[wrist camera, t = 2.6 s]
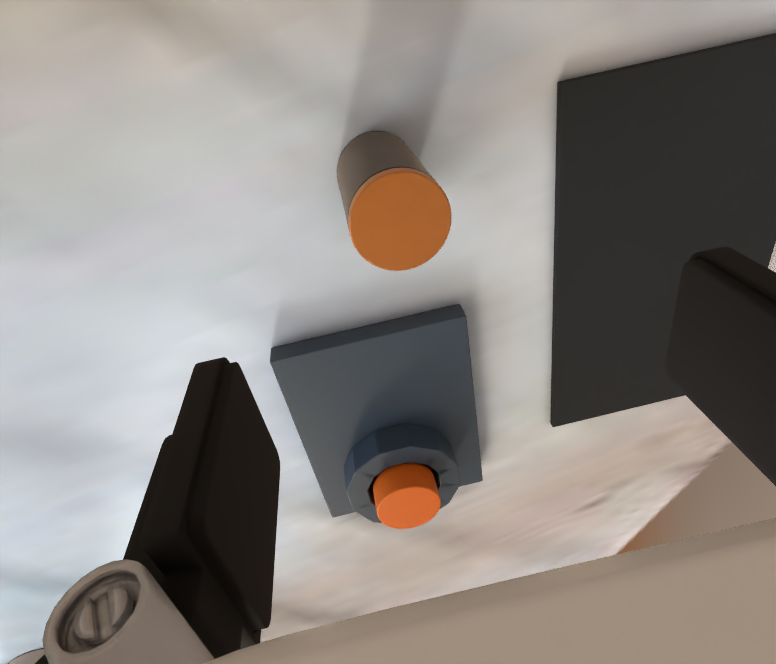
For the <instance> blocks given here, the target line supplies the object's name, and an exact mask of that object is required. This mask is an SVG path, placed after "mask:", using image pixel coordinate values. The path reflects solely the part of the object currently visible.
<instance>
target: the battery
mask: <svg viewBox="0 0 776 664" xmlns="http://www.w3.org/2000/svg"><path fill="white" fill-rule="evenodd" d="M337 179H338V184H339V189H340V193H341V197H342V202H343V206H344V210H345V215H346V219H347V223H348V228H349V232H350V236H351V239H352V242H353V244H354V246H355V248H356V250H357V251H358V252H359V254H360V255H361V256H362V257H363V258H364V259H365V260H367V261H368V262H369V263H371V264H373V265H375V266H377V267H379V268H382V269H387V270H395V271H399V270H407V269H411V268H415V267H417V266H419V265H422V264H423V263H425V262H427V261H428V260H429V259H431V258H432V257H433V256H434V255H435V254H436V253H437V252H438V251H439V250H440V249H441V247H442V246H443V244H444V242H445V240H446V239H447V236H448V233H449V230H450V226H451V209H450V204H449V201H448V199H447V196H446V194H445V193H444V191H443V190H442V188H441V187H440V186H439V185H438V183H437V182H436V181H435V180H434V178H433V177H432V176H431V175H430V173H429V172H428V171H427V170H426V168H425V167H424V166H423V165H422V163H421V162H420V161H419V160H418V158H417V157H416V156H415V155H414V153H413V152H412V151H411V150H410V148H409V147H408V146H407V145H406V143H405V142H404V141H403V140H401V139H400V138H399V137H397V136H396V135H393V134H391V133H388V132H384V131H371V132H366V133H363V134H361V135H359V136H357V137H356V138H354V139H353V140H352V141H350V142H349V143H348V145H347V146H346V147H345V148H344V150H343V151H342V153H341V155H340V158H339V161H338V165H337Z"/></svg>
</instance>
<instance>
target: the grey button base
mask: <svg viewBox="0 0 776 664" xmlns="http://www.w3.org/2000/svg"><path fill="white" fill-rule="evenodd" d="M270 363H271V366H272V368H273V371H274V373H275V376H276V378H277V381H278V383H279V386H280V388H281V391H282V393H283V396H284V398H285V401H286V403H287V406H288V408H289V411H290V413H291V416H292V418H293V421H294V423H295V426H296V428H297V430H298V433H299V435H300V438H301V440H302V443H303V445H304V448H305V450H306V453H307V455H308V458H309V460H310V463H311V465H312V468H313V470H314V473H315V475H316V478H317V480H318V483H319V485H320V488H321V490H322V493H323V495H324V498H325V500H326V503H327V505H328V508H329V510H330V513H331V515H332V517H337V516H341V515H345V514H349V513H353V512H357V513H359V514H360V515H362V516H364V517H365V518H367V519H369V520H370V521H373V522H378V523H382V522H381V521H380V520H379V518H378V516H377V512H376V505H375V499H374V492H373V484H374V481H375V479H376V478H377V476H378V475H379V474H380V473H381V472H382V471H384V470H385V469H387V468H389V467H391V466H394V465H399V464H403V463H407V462H412V463H419V464H422V465H424V466H426V467H427V468H429V469H430V470H431V472H432V473H433V475H434V479H435V482H436V486H437V489H438V492H439V496H440V499H441V505H440V509H441V508H442V507H444V506H445V505H447V504H448V503H449V502H450V500H451V499H452V497H453V495H454V494H455V492H456V491H457V489H458V487H459V486H463V485H468V484H472V483H476V482H480V481H482V480H483V478H482V469H481V459H480V449H479V439H478V429H477V419H476V409H475V399H474V389H473V379H472V369H471V359H470V349H469V339H468V329H467V319H466V315H465V313H464V311H463V309H462V307H461V306H460V304H458V305H454V306H450V307H445V308H441V309H437V310H432V311H428V312H424V313H420V314H415V315H411V316H407V317H403V318H398V319H394V320H390V321H385V322H381V323H377V324H373V325H368V326H364V327H360V328H356V329H351V330H347V331H343V332H338V333H334V334H330V335H326V336H321V337H317V338H313V339H309V340H304V341H300V342H296V343H291V344H287V345H283V346H279V347H274V348H271V356H270Z"/></svg>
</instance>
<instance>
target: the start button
mask: <svg viewBox="0 0 776 664" xmlns="http://www.w3.org/2000/svg"><path fill="white" fill-rule="evenodd" d="M373 492H374V499H375V505H376V512H377V516H378V518H379V520H380V521H381V522H382V523H383V524H385V525H387V526H389V527H392V528H398V529H406V528H413V527H416V526H419V525H422V524H424V523H426V522H428V521H429V520H431V519H432V518H433V517H434V516H435V515H436V514H437V512H438V511H439V509H440V505H441V499H440V496H439V492H438V489H437V486H436V482H435V479H434V475H433V473H432V472H431V470H430V469H429V468H427V467H426V466H424V465H422V464H419V463H412V462H407V463H403V464H399V465H394V466H391V467H389V468H387V469H385V470H384V471H382V472H381V473H380V474H379V475H378V476H377V478H376V479H375V481H374V484H373Z"/></svg>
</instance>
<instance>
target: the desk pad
mask: <svg viewBox="0 0 776 664" xmlns="http://www.w3.org/2000/svg"><path fill="white" fill-rule="evenodd" d="M775 242H776V33H775V34H770V35H766V36H761V37H757V38H752V39H748V40H743V41H739V42H734V43H730V44H725V45H721V46H716V47H712V48H707V49H703V50H698V51H694V52H689V53H685V54H680V55H676V56H671V57H667V58H662V59H658V60H653V61H649V62H644V63H640V64H635V65H631V66H626V67H622V68H617V69H613V70H608V71H604V72H599V73H595V74H590V75H586V76H581V77H577V78H572V79H568V80H563V81H559V82H558V84H557V133H556V181H555V230H554V278H553V326H552V375H551V425H552V426H553V427H556V426H560V425H564V424H568V423H572V422H577V421H581V420H585V419H589V418H593V417H597V416H601V415H605V414H609V413H614V412H618V411H622V410H626V409H630V408H634V407H638V406H642V405H647V404H651V403H655V402H659V401H663V400H667V399H671V398H675V397H680V396H684V395H685V394H684V393H683V392H682V391H681V390H680V389H679V388H678V387H677V386H676V385H675V384H674V383H673V382H672V381H671V380H670V378H669V377H668V375H667V373H666V370H665V360H666V354H667V349H668V343H669V338H670V333H671V327H672V322H673V316H674V311H675V305H676V300H677V295H678V289H679V284H680V278H681V273H682V268H683V265H684V264H685V263H686V262H688V261H689V259H690V257H691V256H692V255H693V254H694V253H696V252H700V251H704V250H709V249H713V248H718V247H723V246H727V247H730V248H732V249H734V250H736V251H737V252H739V253H741V254H743V255H745V256H746V257H748V258H750V259H752V260H754V261H755V262H757V263H759V264H761V265H763V266H764V267H766V268H768V265H769V262H770V258H771V255H772V252H773V248H774V245H775Z"/></svg>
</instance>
